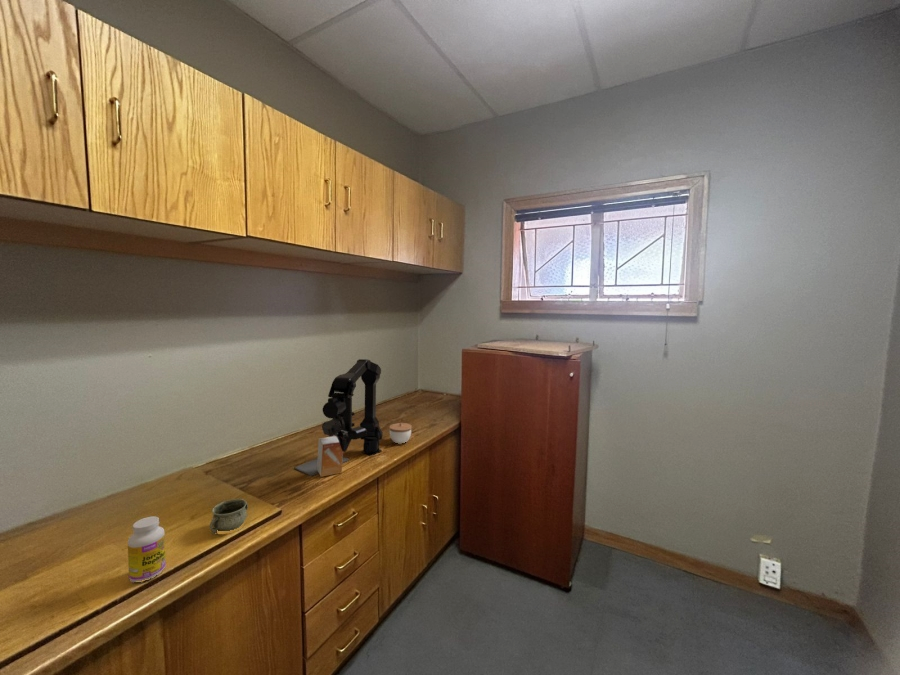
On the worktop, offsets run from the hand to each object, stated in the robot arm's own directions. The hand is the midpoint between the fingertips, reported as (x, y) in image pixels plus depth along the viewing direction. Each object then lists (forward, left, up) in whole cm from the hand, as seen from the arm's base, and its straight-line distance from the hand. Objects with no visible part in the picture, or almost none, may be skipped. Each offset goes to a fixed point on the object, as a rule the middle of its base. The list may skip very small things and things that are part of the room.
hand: (344, 451), depth 133 cm
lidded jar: (-41, -9, -11) cm, 43 cm away
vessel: (+39, -3, -11) cm, 41 cm away
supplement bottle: (+59, +1, -11) cm, 60 cm away
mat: (-3, -17, -10) cm, 20 cm away
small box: (0, -9, -10) cm, 13 cm away
